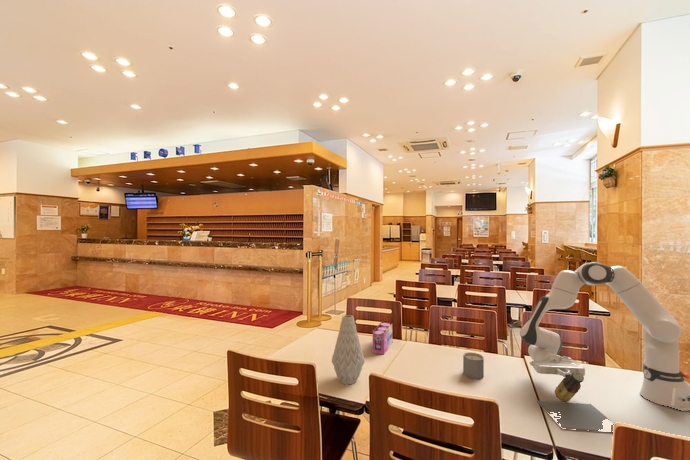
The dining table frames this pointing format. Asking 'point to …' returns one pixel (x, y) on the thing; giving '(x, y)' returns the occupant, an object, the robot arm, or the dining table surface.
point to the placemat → (576, 415)
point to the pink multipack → (382, 338)
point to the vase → (348, 352)
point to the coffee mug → (473, 365)
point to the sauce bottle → (569, 386)
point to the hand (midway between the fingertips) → (568, 375)
